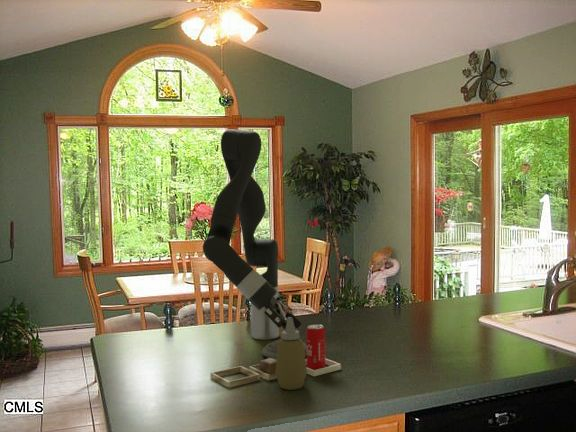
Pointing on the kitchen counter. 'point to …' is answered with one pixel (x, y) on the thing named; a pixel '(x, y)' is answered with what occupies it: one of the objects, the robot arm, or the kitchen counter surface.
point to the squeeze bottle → (290, 358)
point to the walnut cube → (268, 365)
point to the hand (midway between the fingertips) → (297, 329)
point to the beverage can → (315, 346)
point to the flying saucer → (271, 349)
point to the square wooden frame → (262, 373)
